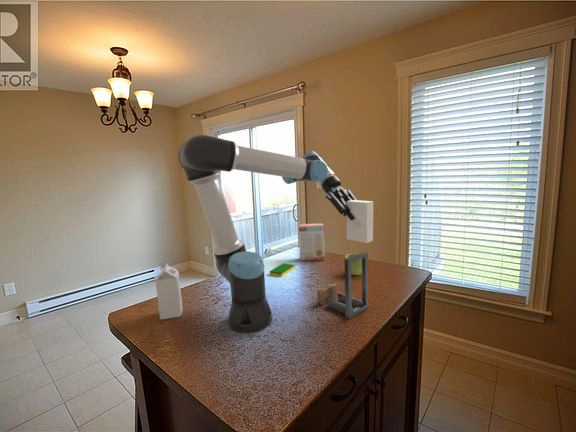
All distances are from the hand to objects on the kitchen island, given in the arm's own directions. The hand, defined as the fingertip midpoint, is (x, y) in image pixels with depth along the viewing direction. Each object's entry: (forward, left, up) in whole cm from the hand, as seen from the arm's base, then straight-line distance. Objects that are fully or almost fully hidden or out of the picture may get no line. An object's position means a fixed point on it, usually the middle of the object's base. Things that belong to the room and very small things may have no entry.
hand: (363, 224), depth 106 cm
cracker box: (+24, +51, -30) cm, 64 cm away
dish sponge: (-1, +49, -31) cm, 58 cm away
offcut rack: (-11, +1, -30) cm, 32 cm away
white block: (0, +2, -6) cm, 7 cm away
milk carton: (-59, +45, -30) cm, 80 cm away
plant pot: (+21, +19, -30) cm, 42 cm away
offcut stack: (-11, +10, -30) cm, 33 cm away
